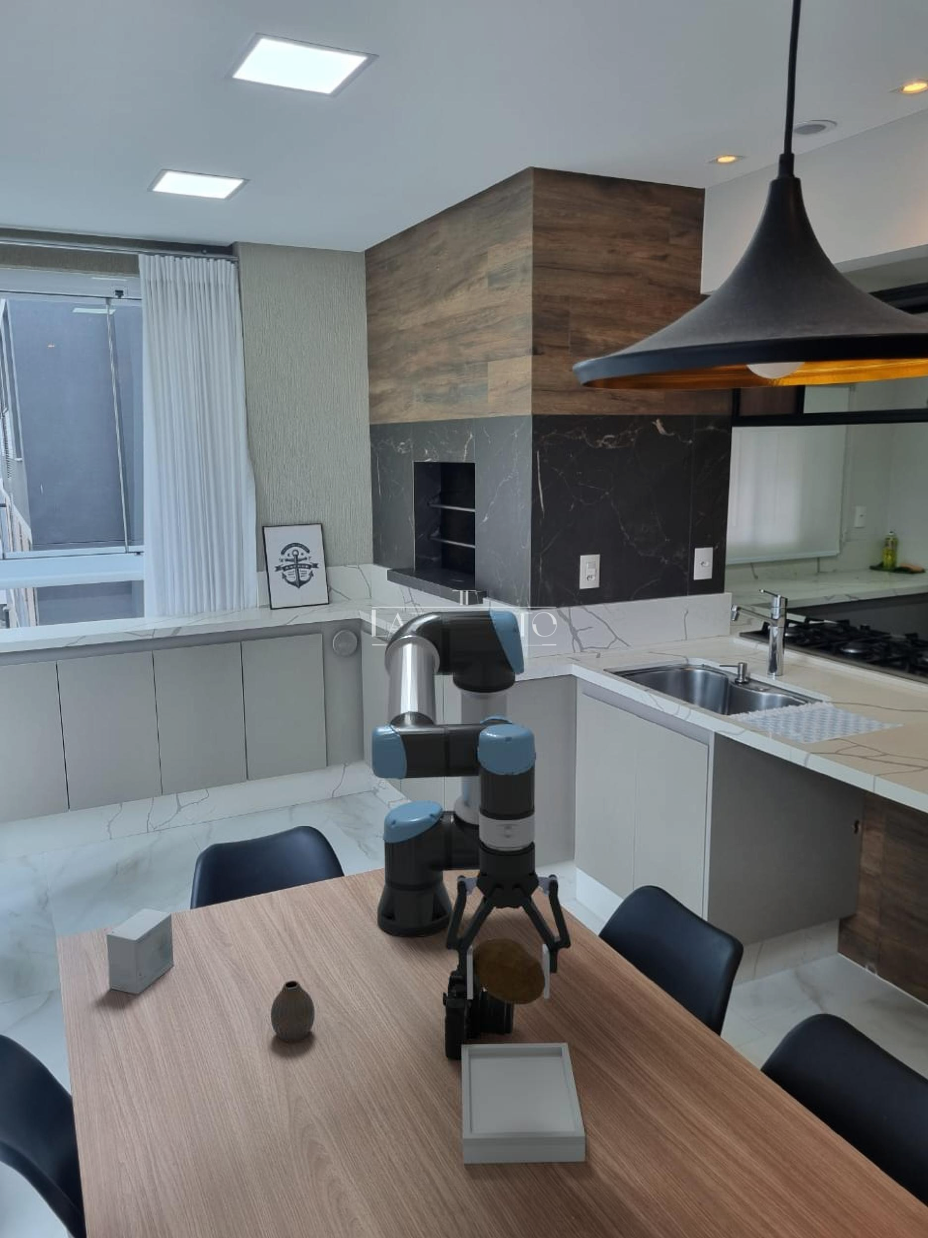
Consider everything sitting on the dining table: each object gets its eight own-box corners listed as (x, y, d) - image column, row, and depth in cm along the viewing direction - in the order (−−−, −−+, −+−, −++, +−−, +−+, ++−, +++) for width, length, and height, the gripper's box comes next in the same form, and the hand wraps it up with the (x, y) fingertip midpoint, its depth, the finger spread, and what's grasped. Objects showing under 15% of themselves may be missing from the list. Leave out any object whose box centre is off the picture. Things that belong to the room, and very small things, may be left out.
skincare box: (139, 996, 164) (135, 939, 162) (108, 989, 166) (104, 934, 164) (176, 965, 174) (172, 912, 172) (146, 959, 176) (142, 907, 174)
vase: (263, 1035, 152) (260, 985, 151) (297, 1016, 157) (295, 968, 156) (289, 1053, 148) (286, 1002, 146) (324, 1033, 153) (322, 983, 151)
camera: (506, 1067, 144) (506, 1006, 142) (437, 1060, 146) (436, 1000, 144) (517, 1014, 157) (517, 958, 156) (454, 1008, 159) (453, 953, 158)
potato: (525, 1024, 124) (525, 970, 123) (453, 992, 132) (452, 940, 131) (559, 996, 131) (559, 944, 129) (488, 967, 138) (487, 918, 137)
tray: (461, 1067, 144) (461, 1044, 143) (566, 1065, 144) (567, 1043, 143) (463, 1164, 124) (462, 1138, 124) (584, 1161, 124) (585, 1136, 124)
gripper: (422, 852, 124) (425, 1009, 128) (594, 851, 124) (592, 1008, 127) (425, 830, 131) (428, 979, 135) (587, 829, 131) (585, 978, 135)
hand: (507, 993), depth 131 cm, fingers closed on potato, 10 cm apart
